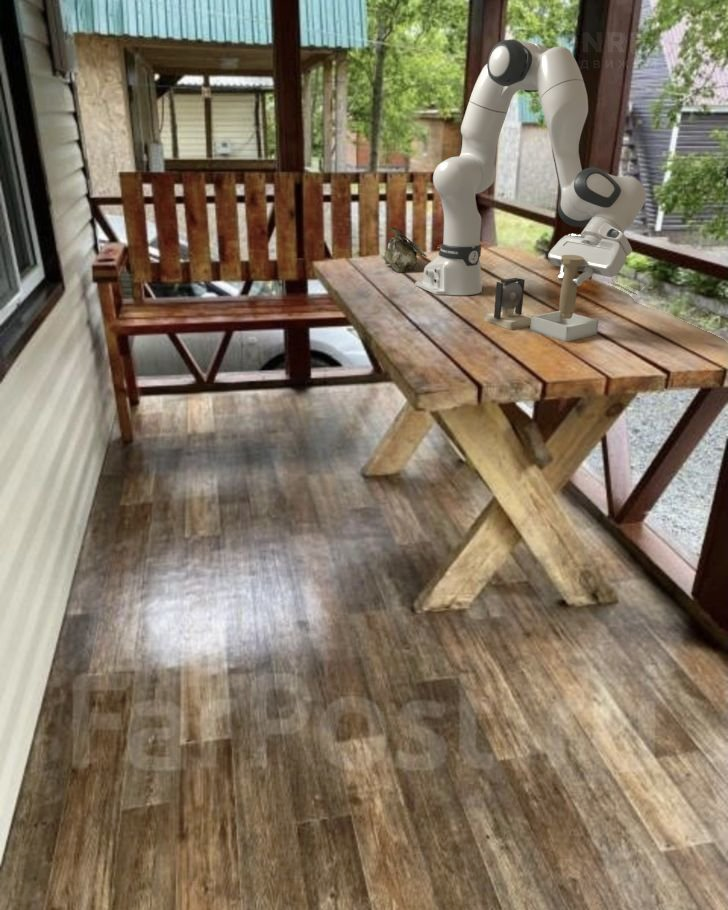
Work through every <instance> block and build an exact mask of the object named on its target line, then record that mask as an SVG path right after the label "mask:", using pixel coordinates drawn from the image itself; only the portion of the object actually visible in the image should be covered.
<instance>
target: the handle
mask: <svg viewBox="0 0 728 910" xmlns="http://www.w3.org/2000/svg"><path fill="white" fill-rule="evenodd" d="M583 259H584V258H583V257H581V256H577V255H562V258H561V262H562V264H563V265H564V266H565V267H564V275H563V281H562V282H561V287H560V293H559V294H560V295H559V304H558V305H559V306H558V307H559V310H558V311H560V313H559V317H560V318H564V319H570V318H571V317H572V315H573V313H574V311H575V306H576V299H577V291H578V290H577V289H578V286H577V285H574V283H573V282H572V281H573V279H574V278H575V276H579V273H578V272H579V270H578V267H579V266H580V265H582V264H583Z"/></svg>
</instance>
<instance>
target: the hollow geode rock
mask: <svg viewBox="0 0 728 910" xmlns="http://www.w3.org/2000/svg"><path fill="white" fill-rule="evenodd" d="M390 230H392V232H393V233H394V234H395V236H392V237H390V240H388V241H387V243H388V244H387V249H386V250H385V252H384V256H383V259H384V261H385V262H384V263H385V264H386V265H390V266H391V268H392V269H393V270H394V272H395V273H405V272H410V271H411V272H412V271H414V270H415V269H414V268H415V266H416V265H417V264H418V256H417V255H418V254H419V256H423V257H428V255H427V254H426V253H425V252H424V251H423V250H422V249H421V248H420V246H419V244H418V243H416V242H413V241H412V240H411V239H409V238H408V237H407V236H405V235H404V233H403V232H401V231H400V230H399V229H398V228H396V227H392V226H390Z"/></svg>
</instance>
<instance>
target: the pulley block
mask: <svg viewBox="0 0 728 910" xmlns="http://www.w3.org/2000/svg"><path fill="white" fill-rule="evenodd" d="M525 280H526V279H523V278H520V277H519V278H518V277H511V278H505V279H500V282H499V281H497V282H496V286H495V287H496V288H495V300H494V311H493V312H488V313H484V322H486V323H488V324H490V325H491V324H492V325H496V326H498V327H501V328H505V329H507V330H511V331H512V330H516V329H521V328H526V327H527V328H528V327H530V324H531V317H527V316H525V315H522V312H523V305H524V303H523V301H524V293H525V291H524V290H525V282H526V281H525Z"/></svg>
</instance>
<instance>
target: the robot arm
mask: <svg viewBox="0 0 728 910" xmlns="http://www.w3.org/2000/svg"><path fill="white" fill-rule="evenodd" d="M475 81H476V82H475V84H474V86H473V89H472V92H471V93H470V94H471V95H470V98H469V101H468V103H467V107H466V110H465V113H464V115H463V120H462V122H461V125H460V133H461V137H462V142H461V143H462V145H461V151H460V154H459V156H458V155H457V156H452V157H451V156H450V157H449V158H447V159H445V160H443V161H441V162H440V163H439V164H438V165H437V166H436V167H435V169H434V172H433V176H432V182H433V186H434V188H435V190H436V191H437V193H438V194H439V197H440V201H441V205H442V212H443V239H442V240H443V241H442V243H440V244H437V248H436V249H438V250H439V252H438V255H437V256H436V257H435V258H433V259H432V260H431V261H430V262H429V263H427V264H426V265H425V266H424V269H423V276H422V279H420V280H417V281H415V282H414V283H415V284H414V285H415V286H416V287H418V288H421V289H423V290H425V291H427V292H429V293H432V294H433V295H448V296H449V295H450V296H469V295H470V296H472V295H477V294H481V293H482V292H483V288H484V286H483V283H482V271H481V269H482V268H481V267H482V266H481V261H480V257H481V256H482V255H481V254H482V245H481V232H482V231H481V230H482V216H481V214H480V213H479V210H478V205H477V200H476V194H480V193H483V192H484V191H485V190H487V189H489V187H490V188H491V186H492V185H493V183H494V182H495V180H496V177H497V169H496V166H495V162H496V155H497V145H498V142H499V139H500V135H501V131H502V129H503V126H504V124H505V123H504V122H505V121H506V117H507V115H508V111H509V108H510V104H511V102H512V99H513V97H514V95H515V94H516V93H517V92H518V91H524V92H526V93H537V94H538V97H539V101H540V106H541V110H542V112H543V116H544V120H545V124H546V128H547V132H548V136H549V141H550V145H551V146H550V147H551V152H552V153H551V154H552V157H553V163H554V168H555V172H556V176H557V177H556V178H557V183H558V190H559V195H558V196H559V197H558V202H557V212H558V216H559V218H561V220H562V221H563V223H565V224H566V225H569V226H571V227H575V228H580V227H584V228H583V230H582V231H581V233H575V232H570V233H568V234H566V235H564V236H562V237H561V238H560V239H559V240H558V241H557V242H556V244H554V246H553V247H552V248H551V249H550V251H549V252H548V254H547V255H548V256H547V258H548V260H549V261H550V263H551V264H552V265H553V266H555V267H560V272H559V274H558V275H557V281H558V282H561V283H562V281H563V275H564V267H565V266H564V265H563V264H562V262H561V258H562V255H577V256H581V257H583V258H584V259H583V264H582V265H580V266H579V267H578V272H582V273H580V274H578V276H575V278H574V279H573V281H572V282H573V283H574V285H577V287H580V286H581V285H582V284H583V282H585V281H587V280H588V279H590V278H591V277H592V276H593V275H599V276H602V277H608V278H613V277H615V276H616V275H618V274H619V272H620V271H621V269H622V268H623V267H624V265H625V263H626V261H627V258H628V256H630V254H631V253H632V252H633V248H632V246H631V244H630V242H629V240H628V239H627V237H626V235H625V234H624V233H625V232H626V229H627V228H629V227H630V226H631V225H632V224H633V222H634V221H635V219H636V218H637V217H638V215H639V214H640V212H641V210H642V209H643V206H644V204H645V202H646V197H647V193H646V189H645V187H644V185H643V184H642V183H641V182H640V181H639V180H638V179H636V178H635V177H633V176H617V175H612V174H610V173H607V172H606V171H605V170H603V169H600V168H597V167H587V168H584V169H582V164H581V159H580V153H579V152H580V151H579V149H580V148H579V147H580V145H579V144H580V140H581V135H582V132H583V128H584V126H585V123H586V120H587V118H588V114H589V100H588V99H589V98H588V93H587V92H588V91H587V89H586V84H585V82H584V78H583V75H582V72H581V69H580V67H579V65H578V62H577V61H576V59H575V57H574V55H573V52H571V50H570V49H569V48H567V47H565V46H553V47H550V46H544V45H542V44H540V43H537V42H532V41H519V40H516V39H504V40H501V41H499V42H498V43H496V44H495V45H494V46H493V48H491V51H490V52H489V54H488V59H487V63H486V64H485V65H484V66H483V67H482V69H481V71H480V73H479V75H478V77H477V79H476V80H475Z"/></svg>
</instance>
